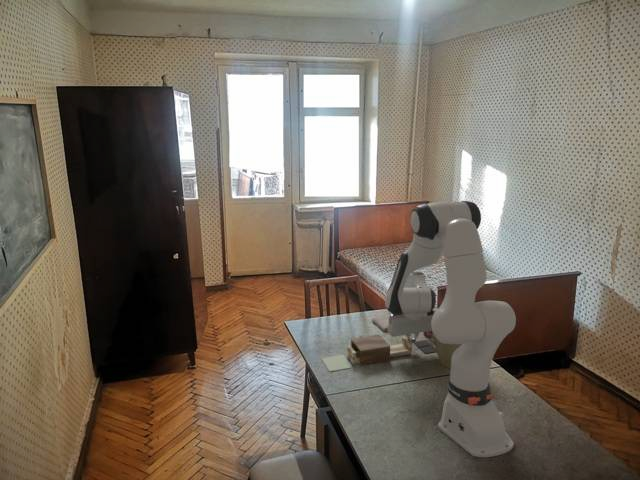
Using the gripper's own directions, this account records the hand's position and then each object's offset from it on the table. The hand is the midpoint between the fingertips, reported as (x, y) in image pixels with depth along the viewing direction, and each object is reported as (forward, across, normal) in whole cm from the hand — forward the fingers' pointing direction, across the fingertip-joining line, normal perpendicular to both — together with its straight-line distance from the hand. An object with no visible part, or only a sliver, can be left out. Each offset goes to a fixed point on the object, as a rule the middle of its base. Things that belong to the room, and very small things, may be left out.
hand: (411, 342), depth 185 cm
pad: (+4, -32, 0) cm, 32 cm away
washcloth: (+4, +5, +25) cm, 26 cm away
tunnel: (+4, -18, 0) cm, 18 cm away
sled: (+4, -14, 0) cm, 14 cm away
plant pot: (+4, +9, -14) cm, 17 cm away
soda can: (+4, +15, +10) cm, 18 cm away
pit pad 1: (+4, +7, +4) cm, 9 cm away
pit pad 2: (+4, +7, -2) cm, 8 cm away
